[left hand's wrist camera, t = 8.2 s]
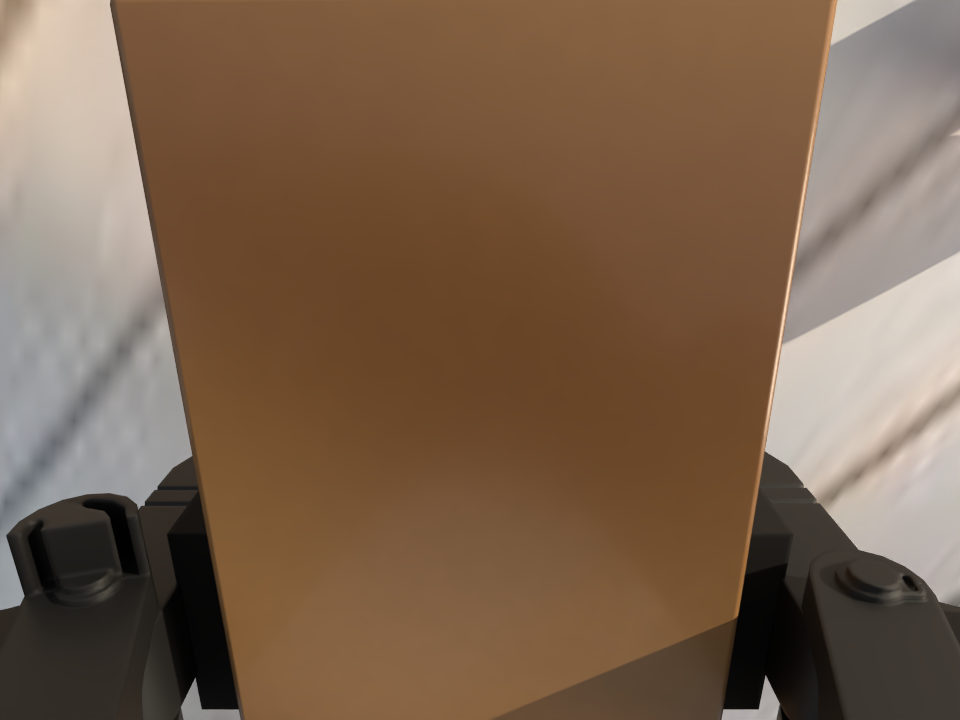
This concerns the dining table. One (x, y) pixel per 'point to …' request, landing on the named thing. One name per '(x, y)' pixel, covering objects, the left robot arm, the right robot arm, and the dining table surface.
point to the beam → (476, 335)
